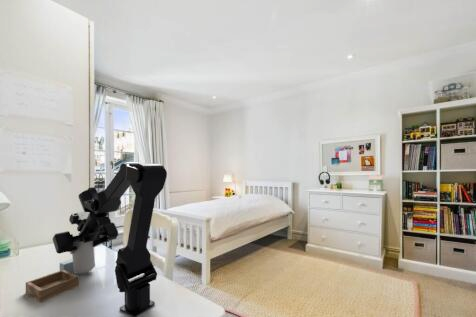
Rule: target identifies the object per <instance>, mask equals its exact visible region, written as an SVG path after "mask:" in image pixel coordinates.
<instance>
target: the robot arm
mask: <svg viewBox="0 0 476 317" xmlns="http://www.w3.org/2000/svg"><path fill="white" fill-rule="evenodd" d="M167 176H168V172H167V170H166V169H165V167H164V165H163V164H161V163H140V162H136V161H135V162H134V161H133V162H132V161H131V162H129V161H127V162H123V163H121V164H120V165H119V170H118V171H117V172H116V174H115V175H114V177H113V178H112V180H111V181H110V183H109V184H108V185H107V187H106V188H104V189H103V190H101V191H99V192H98V190H97V188H96V187H95V186H94V187H93V186H92V187H88V188H87V189H86V190H84V191H82V192H80V193H79V194H78V199H79V202H80V204H81V206H82V209H83V211H79V212H78V211H77V212H75V213H71V215H70V216H69V219H68V220H69V223H70V224H71V225H77V228H76V231H77V232H78V234H77V235H73V233H71V232H70V231H62V232H58V233H55V234H54V235H53V236H52V241H53V242H52V243H53V245H54V249H55V252H56V254H58V255H59V254H63V253H69V254H70V255H72V254H73V253H74V252H75V251H76V250H77V246H76V245H77V243H81V242H84V243H87V242H91V241H93V247H94V248H96V247H99V246H100V245H103V244H105V243H108V242H109V241H112V240H116V239H117V238H118V236H119V230H118V228H117V226H116V224H115V223H114V222H111V221H112V220H111V218H110V213H113V212H116V211H118V209H119V208H120V206H121V204H122V201H121V198H122V197H123V196H124V194H125V193H126V192H127V190H128V189H129V188H130V186H131V189H132V191H133V193H134V194H135V196H134V201H133V202H134V203H133V210H132V215H131V221H130V226H129V230H128V231H129V232H128V238H127V243H126V246H124V247H122V248H119V249H118V251H117V254H116V255H117V256H116V260H115V268H114V275H115V279H116V286H117V289H119V291H118V292H120V293H124V304H123V305H122V306H120V307H119V311H121V312H123V313H126V314H128V315H129V316H132V317H138V316H139V315H140V314H141V313H143V312H145V311H147V310H148V309H149V308H151V307H152V306H154V305H155V304H156V303H155V301H153V300H151V282H153V281H156V280H157V276H158V272H157V270H156V268H155V266H154V264H153V263H152V260H151V256H152V255H151V253H150V251H149V249H148V247H147V246H148V239H149V235H150V230H151V225H152V224H151V223H152V217H153V213H154V208H155V201H156V198H157V196H158V195H159V194H160V193H161V192H162V191H163V189H164V187H165V184H166V181H167Z"/></svg>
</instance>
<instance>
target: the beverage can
mask: <svg viewBox="0 0 476 317" xmlns="http://www.w3.org/2000/svg"><path fill="white" fill-rule="evenodd" d="M76 246H77V250H76V251H75V252H74V253H73V254H71V255H72V259H73V269H74V273H75V274H76V275H83V274H86V273H87V274H88V273H89V272H91V271H92V270H93V269H94V268H95V267H96V261H95V260H96V259H95V249H94V248H95V247H93V241H91V242H87V243H84V242H81V243H77V245H76Z"/></svg>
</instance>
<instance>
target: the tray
mask: <svg viewBox="0 0 476 317" xmlns="http://www.w3.org/2000/svg"><path fill="white" fill-rule="evenodd" d="M79 286H80V276H79V275H78V274H74V273H70V272H68V271H65V270H61V271H60V270H59V271H55V272H52V273H49V274H47V275H44V276H41V277H38V278H35V279H33V280H30V281H26V282H25V294H26V295H29V297H31V298H33V299H34V300H36V301H37V302H39V303H42V302H44V301H47V300H50V299H52V298H55V297H57V296H59V295H62V294H63V293H66V292H69V291H71V290H74V289H76V288H77V287H79Z"/></svg>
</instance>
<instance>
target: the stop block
mask: <svg viewBox="0 0 476 317" xmlns="http://www.w3.org/2000/svg"><path fill="white" fill-rule="evenodd" d="M61 270H65V271H68V272H70V273H72V274H74V273H75V272H74V269H73V258H70V259H67V260H65V261H62V262H59V271H61Z"/></svg>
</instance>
